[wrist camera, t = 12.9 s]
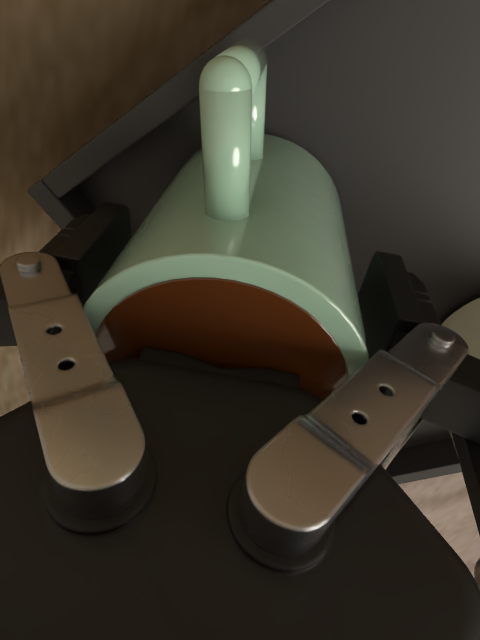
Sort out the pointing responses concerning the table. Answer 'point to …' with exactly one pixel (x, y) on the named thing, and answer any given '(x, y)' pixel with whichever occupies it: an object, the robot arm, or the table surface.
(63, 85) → the table surface
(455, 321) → the cream cup
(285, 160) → the green cup
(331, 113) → the tray
